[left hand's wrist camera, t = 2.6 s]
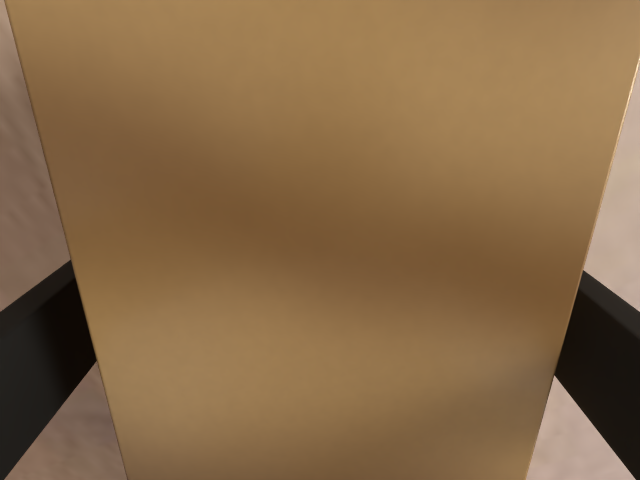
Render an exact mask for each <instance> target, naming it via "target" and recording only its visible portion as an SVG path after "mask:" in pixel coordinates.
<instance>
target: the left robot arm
mask: <svg viewBox="0 0 640 480" xmlns="http://www.w3.org/2000/svg"><path fill="white" fill-rule="evenodd" d="M96 361H97V359H96V355H95V351H94V347H93V343H92V339H91V336H90V332H89V328H88V324H87V320H86V316H85V312H84V308H83V304H82V301H81V297H80V293H79V289H78V285H77V281H76V277H75V273H74V269H73V266H72V262H71V260H70V261H68V262H67V263H66V264H64V265H63V266H62V267H60V268H59V269H58V270H56V271H55V272H54V273H52V274H51V275H49V276H48V277H47V278H45V279H44V280H43V281H41V282H40V283H39V284H37V285H36V286H35V287H33V288H32V289H31V290H29V291H28V292H27V293H25V294H24V295H23V296H21V297H20V298H19V299H17V300H16V301H14V302H13V303H12V304H10V305H9V306H8V307H6V308H5V309H4V310H2V311H1V312H0V480H4V479H5V478H6V476H7V475H8V474H9V473H10V471H11V470H12V469H13V467H14V466H15V465H16V464H17V462H18V461H19V460H20V458H21V457H22V456H23V455H24V453H25V452H26V451H27V449H28V448H29V447H30V446H31V444H32V443H33V442H34V441H35V439H36V438H37V437H38V435H39V434H40V433H41V432H42V430H43V429H44V428H45V426H46V425H47V424H48V423H49V421H50V420H51V419H52V417H53V416H54V415H55V414H56V412H57V411H58V410H59V408H60V407H61V406H62V405H63V403H64V402H65V401H66V400H67V398H68V397H69V396H70V394H71V393H72V392H73V391H74V389H75V388H76V387H77V385H78V384H79V383H80V382H81V380H82V379H83V378H84V376H85V375H86V374H87V373H88V371H89V370H90V369H91V367H92V366H93V365H94V364H95V362H96ZM554 375H555V376H556V378H557V379H558V380H559V382H560V383H561V384H562V385H563V387H564V388H565V389H566V391H567V392H568V393H569V394H570V396H571V397H572V398H573V400H574V401H575V402H576V403H577V405H578V406H579V407H580V408H581V410H582V411H583V412H584V414H585V415H586V416H587V417H588V419H589V420H590V421H591V423H592V424H593V425H594V426H595V428H596V429H597V430H598V432H599V433H600V434H601V435H602V437H603V438H604V439H605V441H606V442H607V443H608V444H609V446H610V447H611V448H612V450H613V451H614V452H615V453H616V455H617V456H618V457H619V458H620V460H621V461H622V462H623V464H624V465H625V466H626V467H627V469H628V470H629V471H630V473H631V474H632V475H633V476H634V478H635V479H636V480H640V312H639V311H638V310H636V309H635V308H634V307H632V306H631V305H630V304H628V303H627V302H626V301H624V300H623V299H621V298H620V297H619V296H617V295H616V294H615V293H613V292H612V291H611V290H609V289H608V288H607V287H605V286H604V285H603V284H601V283H600V282H599V281H597V280H596V279H595V278H593V277H592V276H591V275H589V274H588V273H586V272H585V271H584V270H583V272H582V276H581V279H580V283H579V287H578V290H577V294H576V298H575V301H574V305H573V309H572V312H571V316H570V319H569V323H568V327H567V330H566V334H565V338H564V341H563V345H562V349H561V352H560V356H559V360H558V363H557V367H556V370H555V374H554Z"/></svg>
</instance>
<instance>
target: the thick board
mask: <svg viewBox="0 0 640 480" xmlns="http://www.w3.org/2000/svg"><path fill="white" fill-rule="evenodd" d="M4 1H5V5H6V9H7V13H8V17H9V21H10V25H11V28H12V32H13V36H14V40H15V44H16V48H17V52H18V56H19V60H20V63H21V67H22V71H23V75H24V79H25V83H26V87H27V91H28V95H29V98H30V102H31V106H32V110H33V114H34V118H35V122H36V126H37V130H38V133H39V137H40V141H41V145H42V149H43V153H44V157H45V161H46V164H47V168H48V172H49V176H50V180H51V184H52V188H53V192H54V196H55V199H56V203H57V207H58V211H59V215H60V219H61V223H62V227H63V231H64V234H65V238H66V242H67V246H68V250H69V254H70V258H71V262H72V266H73V269H74V273H75V277H76V281H77V285H78V289H79V293H80V297H81V301H82V304H83V308H84V312H85V316H86V320H87V324H88V328H89V332H90V336H91V339H92V343H93V347H94V351H95V355H96V359H97V363H98V367H99V371H100V374H101V378H102V382H103V386H104V390H105V394H106V398H107V402H108V406H109V409H110V413H111V417H112V421H113V425H114V429H115V433H116V437H117V440H118V444H119V448H120V452H121V456H122V460H123V464H124V468H125V472H126V475H127V479H128V480H526V476H527V472H528V469H529V465H530V462H531V458H532V454H533V451H534V447H535V443H536V440H537V436H538V432H539V429H540V425H541V421H542V418H543V414H544V411H545V407H546V403H547V400H548V396H549V392H550V389H551V385H552V381H553V378H554V374H555V370H556V367H557V363H558V360H559V356H560V352H561V349H562V345H563V341H564V338H565V334H566V330H567V327H568V323H569V319H570V316H571V312H572V309H573V305H574V301H575V298H576V294H577V290H578V287H579V283H580V279H581V276H582V272H583V268H584V265H585V261H586V258H587V254H588V250H589V247H590V243H591V239H592V236H593V232H594V228H595V225H596V221H597V218H598V214H599V210H600V207H601V203H602V199H603V196H604V192H605V188H606V185H607V181H608V177H609V174H610V170H611V167H612V163H613V159H614V156H615V152H616V148H617V145H618V141H619V137H620V134H621V130H622V126H623V123H624V119H625V116H626V112H627V108H628V105H629V101H630V97H631V94H632V90H633V86H634V83H635V79H636V75H637V72H638V68H639V65H640V0H4Z"/></svg>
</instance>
